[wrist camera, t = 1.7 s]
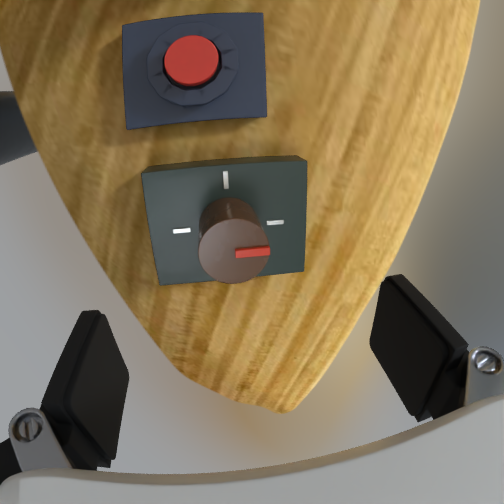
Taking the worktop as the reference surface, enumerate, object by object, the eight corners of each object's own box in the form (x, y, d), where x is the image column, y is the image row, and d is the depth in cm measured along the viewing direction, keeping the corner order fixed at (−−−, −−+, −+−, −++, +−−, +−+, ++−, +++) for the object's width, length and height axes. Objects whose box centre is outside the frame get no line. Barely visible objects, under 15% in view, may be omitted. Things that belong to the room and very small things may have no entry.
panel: (163, 269, 29) (159, 286, 27) (147, 166, 25) (140, 173, 22) (295, 256, 31) (304, 272, 28) (297, 155, 26) (308, 161, 24)
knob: (201, 255, 26) (202, 289, 21) (196, 200, 24) (193, 223, 19) (258, 250, 27) (271, 282, 22) (257, 195, 24) (270, 217, 20)
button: (168, 88, 19) (165, 86, 18) (166, 43, 18) (163, 38, 16) (218, 84, 20) (219, 81, 18) (216, 38, 18) (217, 33, 17)
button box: (132, 128, 23) (120, 131, 20) (128, 31, 19) (116, 19, 16) (262, 116, 25) (272, 117, 21) (258, 19, 21) (267, 5, 17)
